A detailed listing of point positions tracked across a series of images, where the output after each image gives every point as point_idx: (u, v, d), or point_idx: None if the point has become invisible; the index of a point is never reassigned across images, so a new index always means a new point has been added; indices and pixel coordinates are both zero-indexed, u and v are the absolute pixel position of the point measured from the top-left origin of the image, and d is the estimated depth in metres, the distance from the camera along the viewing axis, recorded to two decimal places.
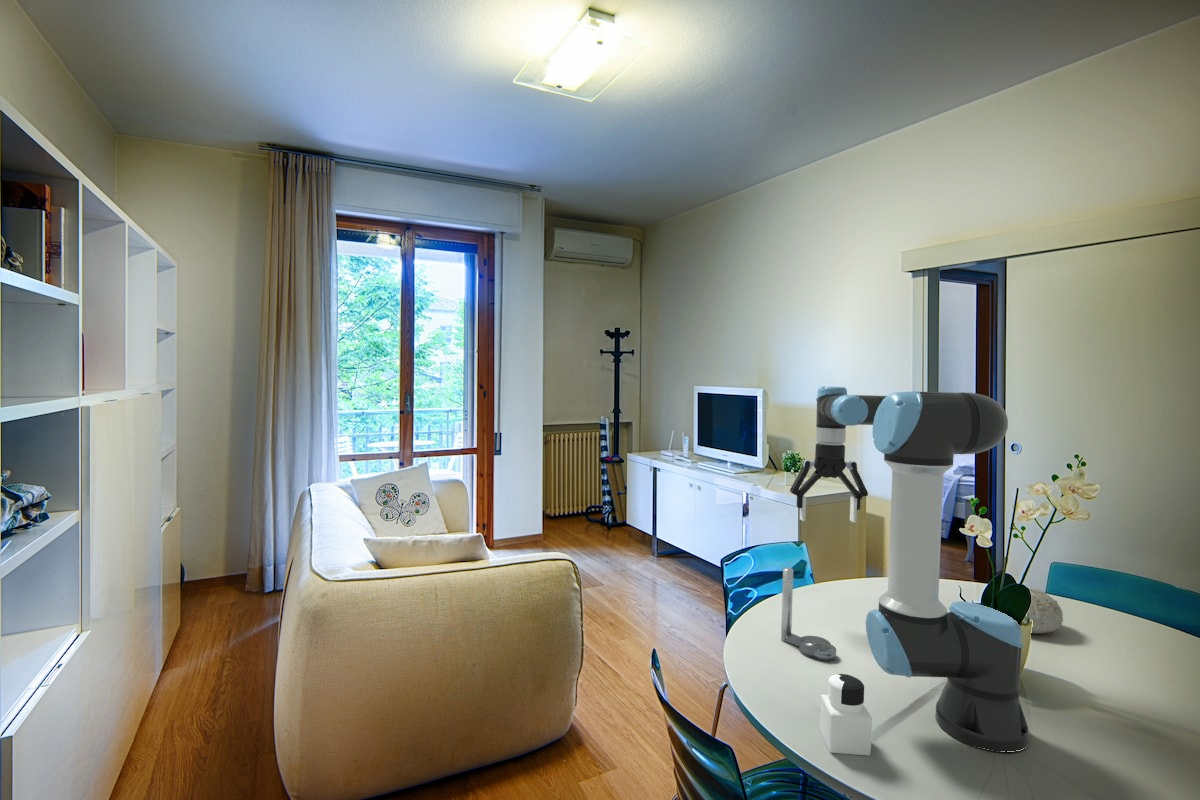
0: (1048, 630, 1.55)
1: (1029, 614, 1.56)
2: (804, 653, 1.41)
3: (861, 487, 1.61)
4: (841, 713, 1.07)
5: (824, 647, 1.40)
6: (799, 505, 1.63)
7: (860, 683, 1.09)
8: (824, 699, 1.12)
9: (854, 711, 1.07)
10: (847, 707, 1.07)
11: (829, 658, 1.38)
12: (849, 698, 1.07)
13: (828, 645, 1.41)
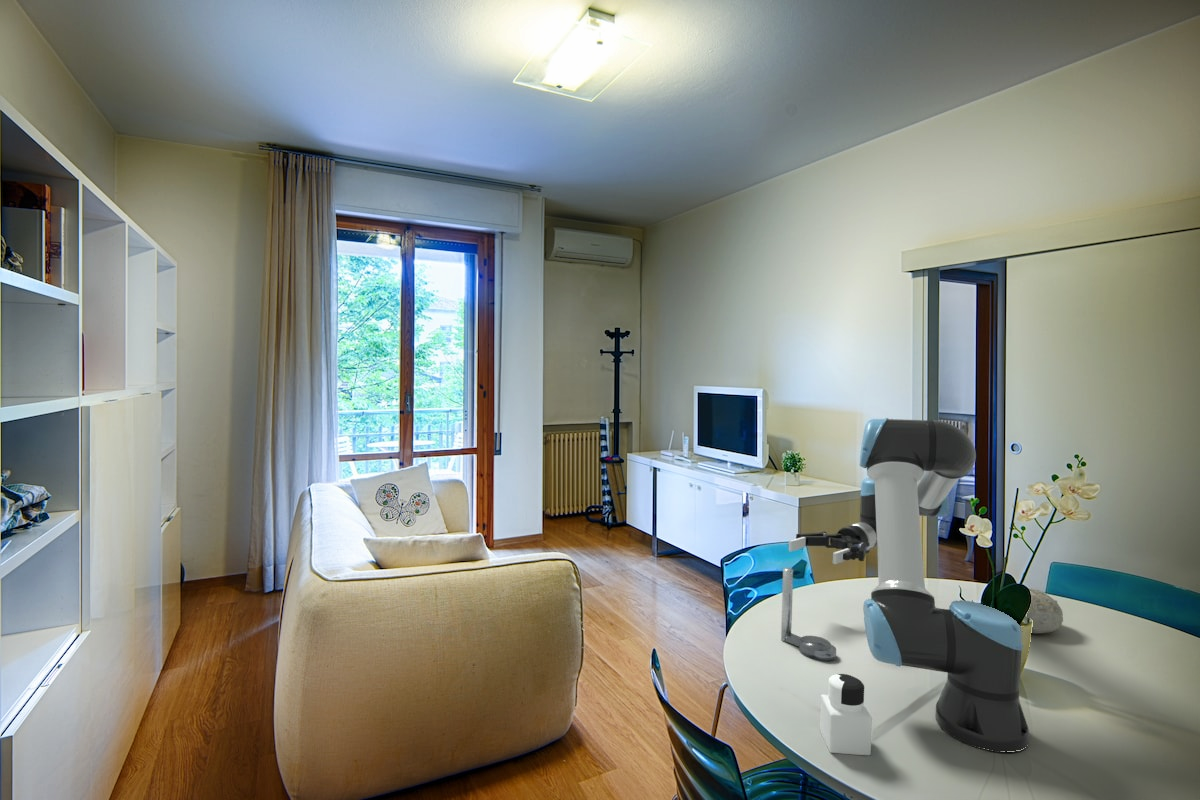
0: (1048, 630, 1.55)
1: (1029, 614, 1.56)
2: (804, 653, 1.41)
3: (860, 548, 1.53)
4: (841, 713, 1.07)
5: (824, 647, 1.40)
6: None
7: (860, 683, 1.09)
8: (824, 699, 1.12)
9: (854, 711, 1.07)
10: (847, 707, 1.07)
11: (829, 658, 1.38)
12: (849, 698, 1.07)
13: (828, 645, 1.41)
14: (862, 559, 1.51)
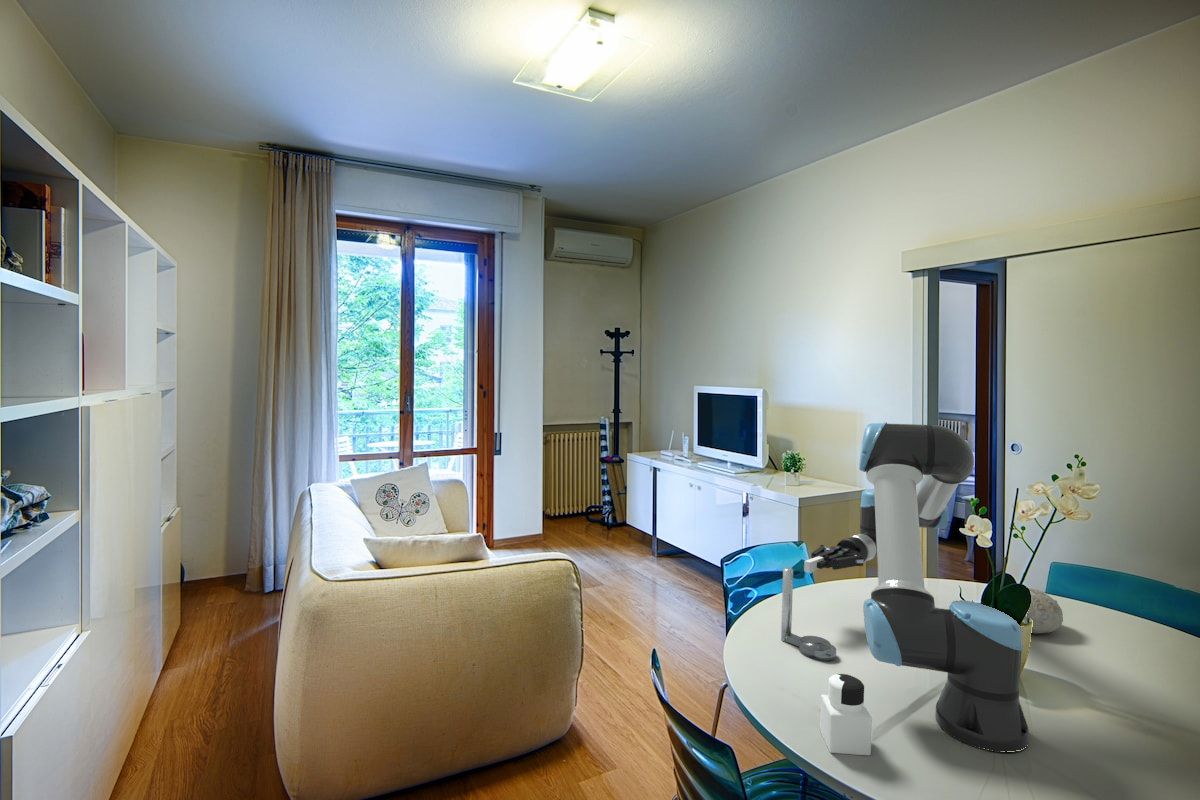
0: (1048, 630, 1.55)
1: (1029, 614, 1.56)
2: (804, 653, 1.41)
3: (840, 558, 1.56)
4: (841, 713, 1.07)
5: (824, 647, 1.40)
6: (810, 559, 1.57)
7: (860, 683, 1.09)
8: (824, 699, 1.12)
9: (854, 711, 1.07)
10: (847, 707, 1.07)
11: (829, 658, 1.38)
12: (848, 698, 1.07)
13: (828, 645, 1.41)
14: (834, 567, 1.55)
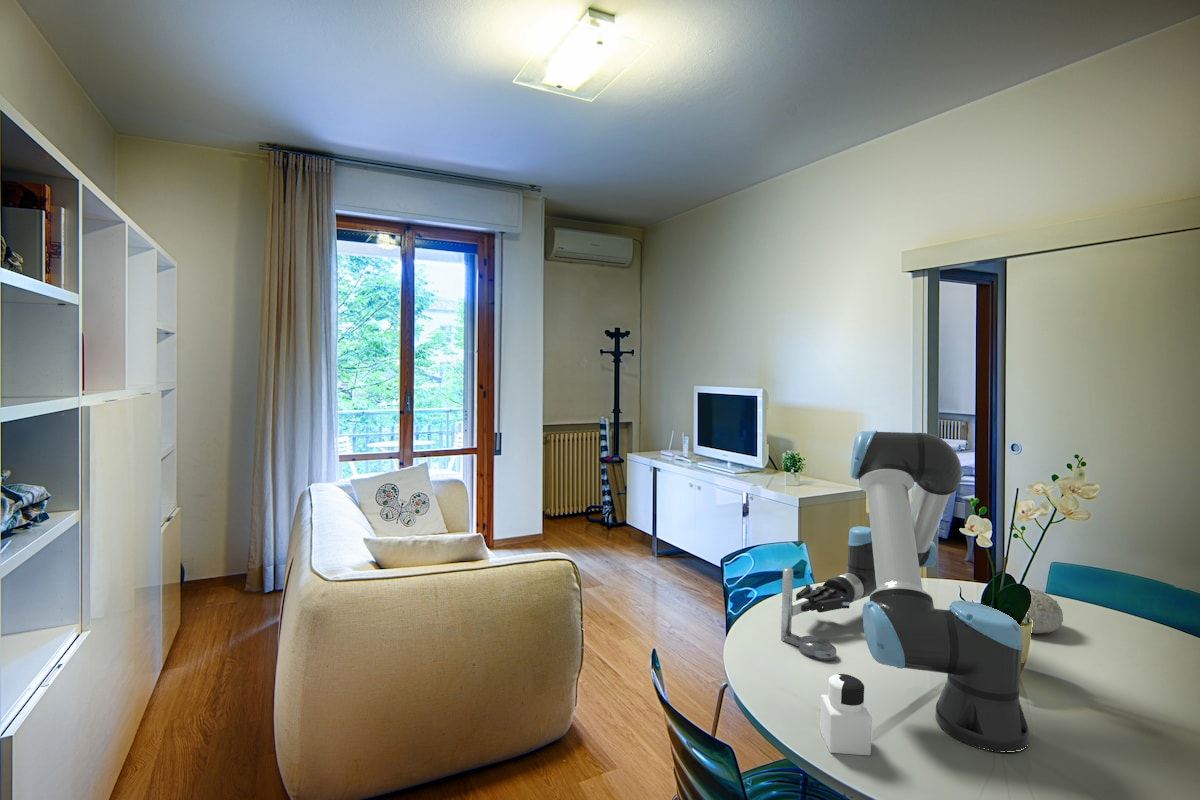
0: (1048, 630, 1.55)
1: (1029, 614, 1.56)
2: (804, 653, 1.41)
3: (825, 600, 1.53)
4: (841, 713, 1.07)
5: (824, 647, 1.40)
6: (795, 601, 1.53)
7: (860, 683, 1.09)
8: (824, 699, 1.12)
9: (854, 711, 1.07)
10: (847, 707, 1.07)
11: (830, 658, 1.38)
12: (848, 698, 1.07)
13: (828, 645, 1.41)
14: (819, 610, 1.51)
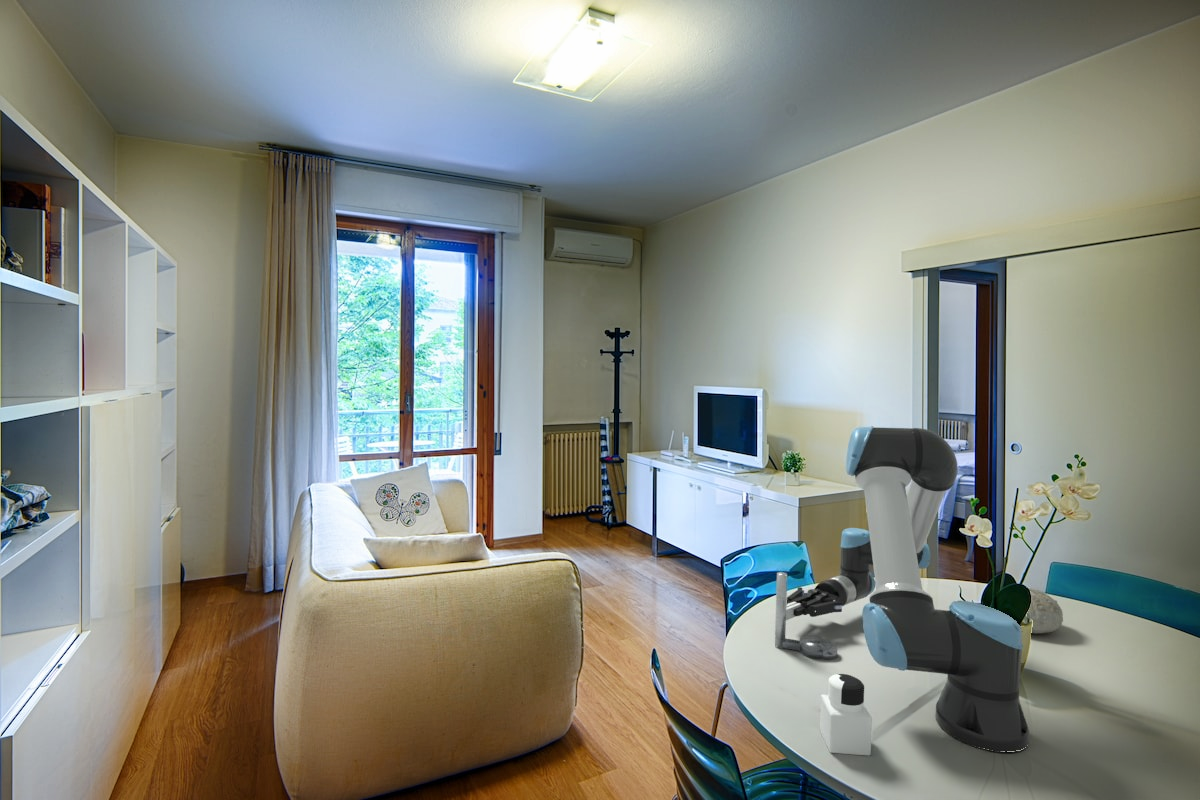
0: (1048, 630, 1.55)
1: (1029, 614, 1.56)
2: (812, 656, 1.40)
3: (817, 604, 1.50)
4: (841, 713, 1.07)
5: (828, 645, 1.41)
6: None
7: (860, 683, 1.09)
8: (824, 699, 1.12)
9: (854, 711, 1.07)
10: (847, 707, 1.07)
11: (836, 654, 1.40)
12: (848, 698, 1.07)
13: (828, 642, 1.43)
14: (812, 615, 1.49)
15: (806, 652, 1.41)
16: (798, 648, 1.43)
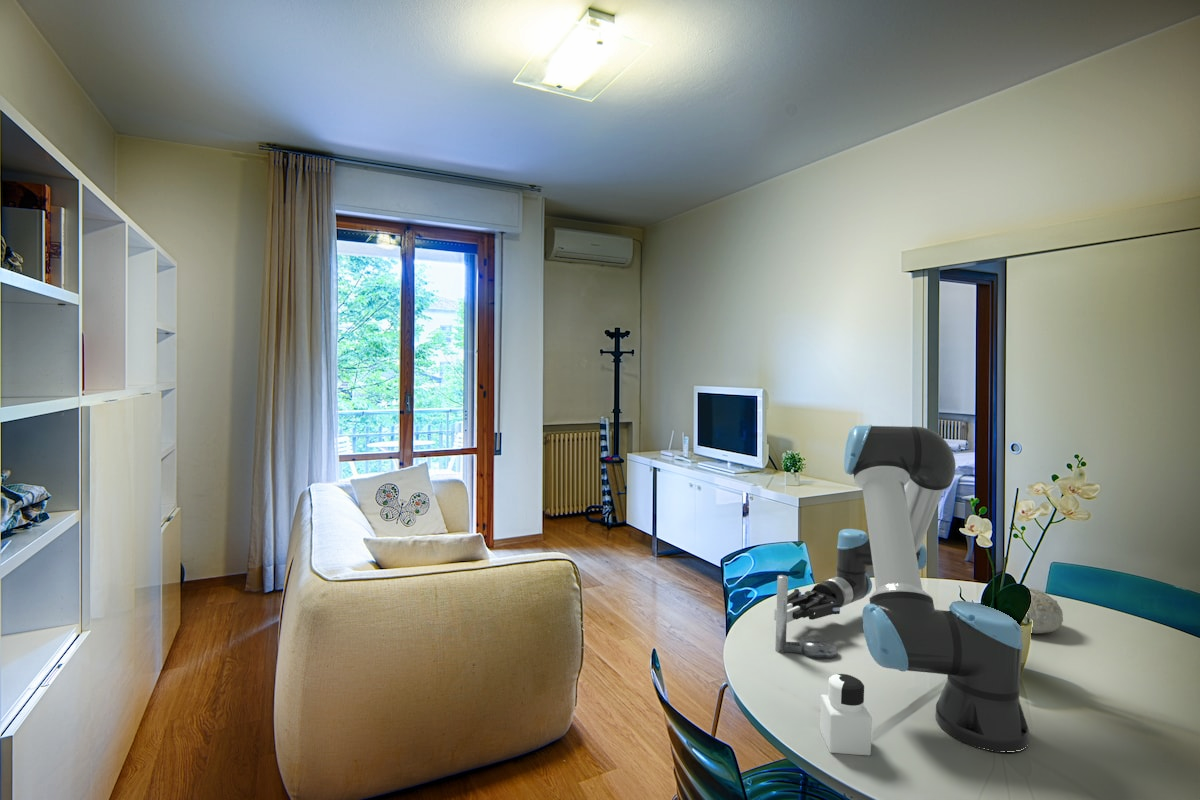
0: (1048, 630, 1.55)
1: (1029, 614, 1.56)
2: (816, 657, 1.40)
3: (816, 607, 1.49)
4: (841, 713, 1.07)
5: (828, 644, 1.42)
6: None
7: (860, 683, 1.09)
8: (824, 699, 1.12)
9: (854, 711, 1.07)
10: (847, 707, 1.07)
11: (836, 652, 1.41)
12: (848, 698, 1.07)
13: (826, 640, 1.44)
14: (811, 617, 1.47)
15: (810, 653, 1.40)
16: (800, 650, 1.42)
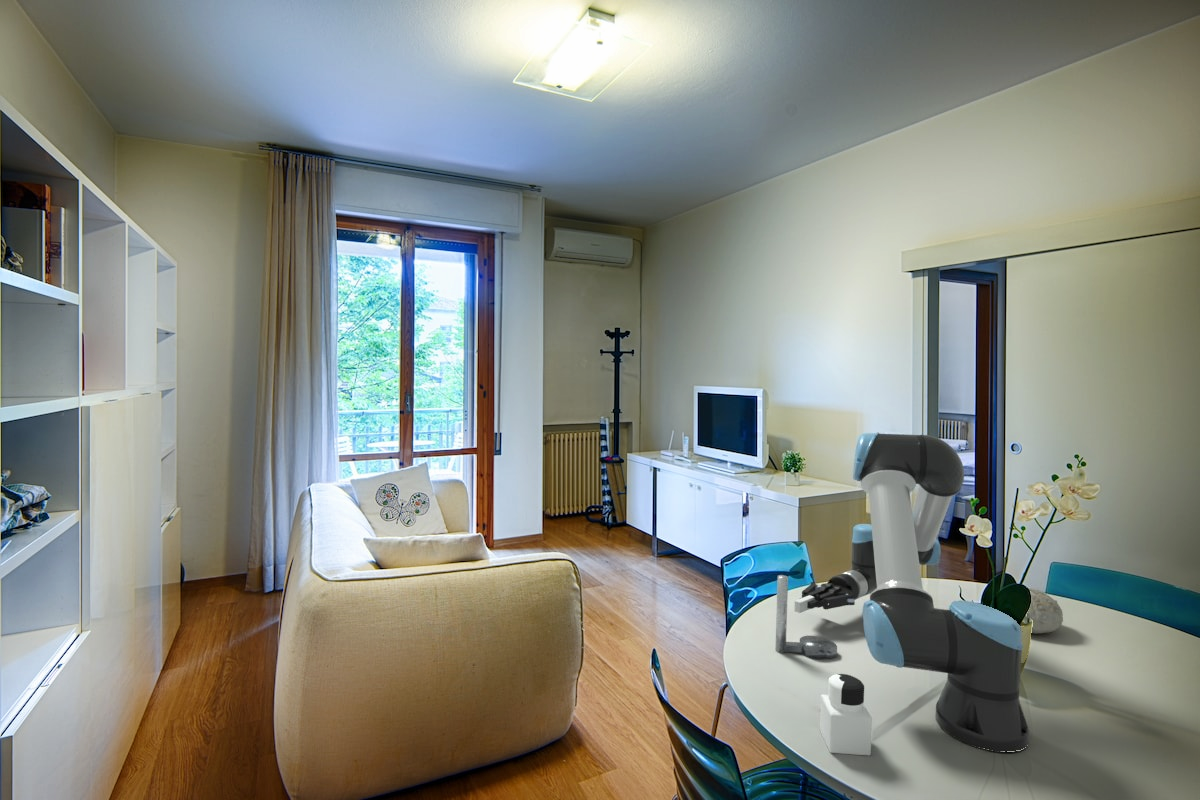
0: (1048, 630, 1.55)
1: (1029, 614, 1.56)
2: (816, 657, 1.40)
3: (830, 597, 1.54)
4: (841, 713, 1.07)
5: (828, 644, 1.42)
6: None
7: (860, 683, 1.09)
8: (824, 699, 1.12)
9: (854, 711, 1.07)
10: (847, 707, 1.07)
11: (836, 652, 1.41)
12: (848, 698, 1.07)
13: (826, 640, 1.44)
14: (825, 607, 1.53)
15: (810, 653, 1.40)
16: (800, 650, 1.42)
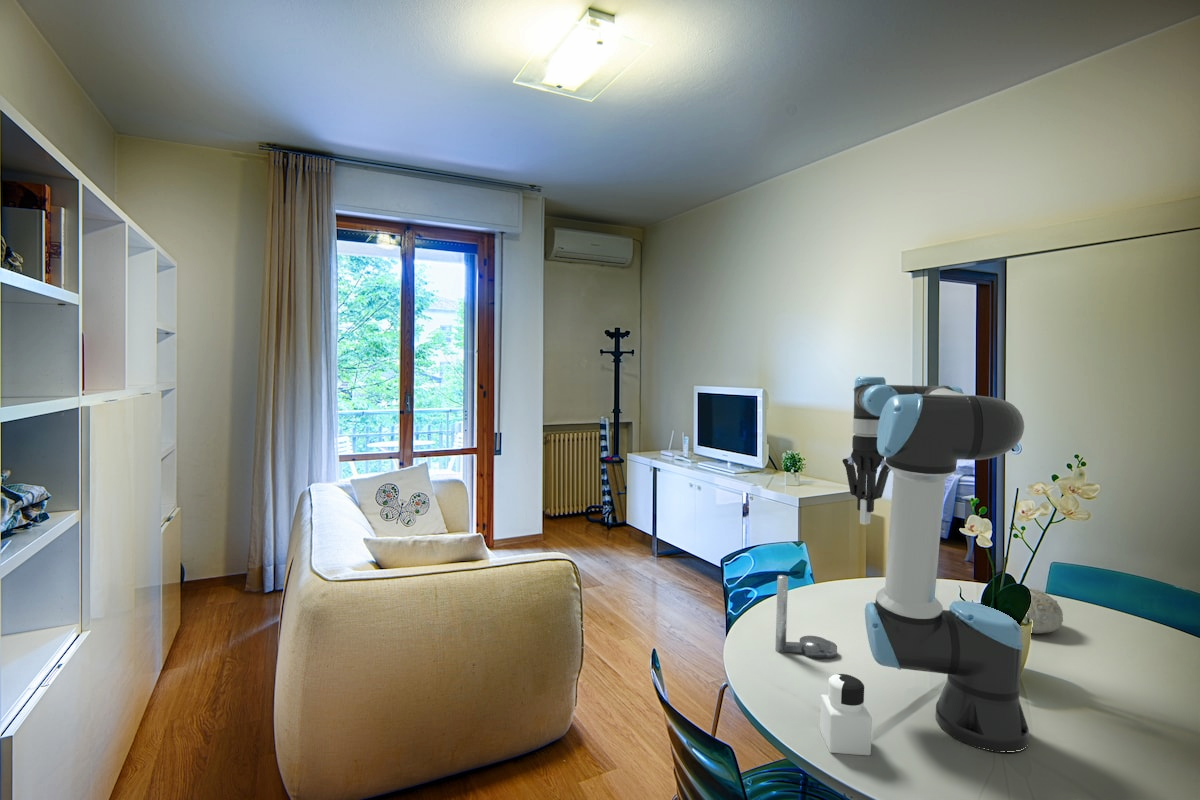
0: (1048, 630, 1.55)
1: (1029, 614, 1.56)
2: (816, 657, 1.40)
3: (876, 488, 1.55)
4: (841, 713, 1.07)
5: (828, 644, 1.42)
6: (858, 507, 1.59)
7: (860, 683, 1.09)
8: (824, 699, 1.12)
9: (854, 711, 1.07)
10: (847, 707, 1.07)
11: (836, 652, 1.41)
12: (849, 698, 1.07)
13: (826, 640, 1.44)
14: (879, 497, 1.56)
15: (810, 653, 1.40)
16: (800, 650, 1.42)
